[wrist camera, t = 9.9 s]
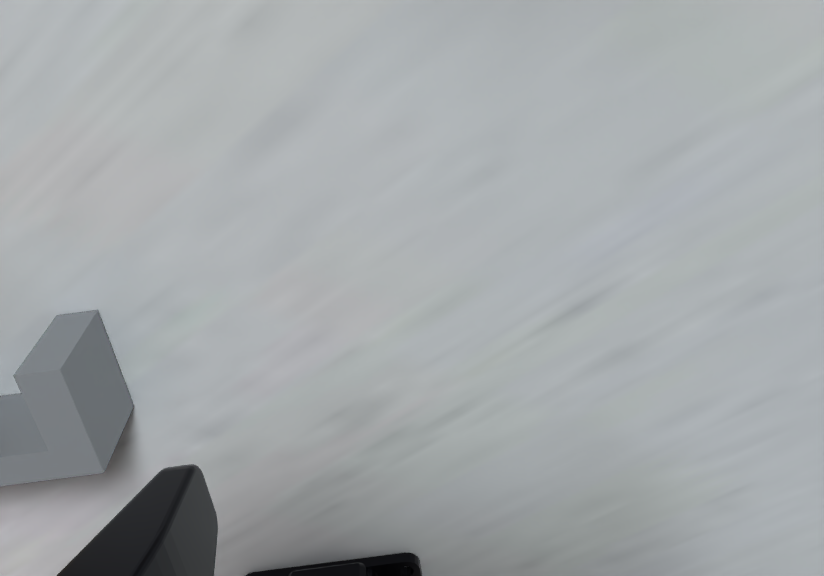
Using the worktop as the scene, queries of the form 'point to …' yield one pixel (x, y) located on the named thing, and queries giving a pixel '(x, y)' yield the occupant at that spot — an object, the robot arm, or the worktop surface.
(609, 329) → the worktop surface
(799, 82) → the worktop surface
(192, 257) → the worktop surface
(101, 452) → the end cap
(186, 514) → the robot arm
